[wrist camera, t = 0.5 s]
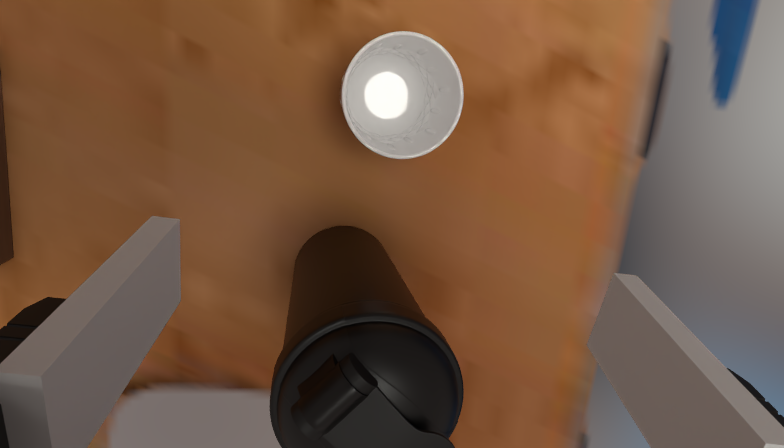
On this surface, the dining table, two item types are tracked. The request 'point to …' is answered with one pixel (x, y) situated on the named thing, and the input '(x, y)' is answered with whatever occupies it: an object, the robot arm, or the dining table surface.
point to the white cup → (402, 95)
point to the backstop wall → (4, 196)
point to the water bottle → (360, 354)
